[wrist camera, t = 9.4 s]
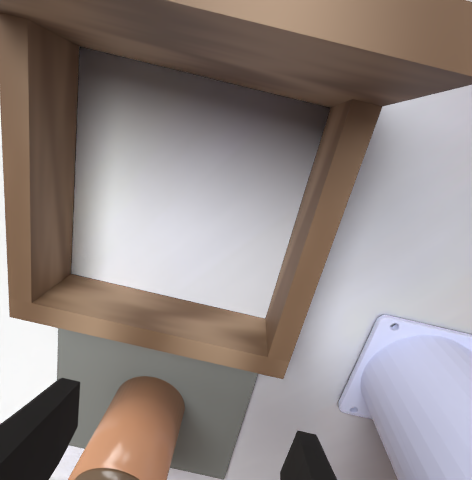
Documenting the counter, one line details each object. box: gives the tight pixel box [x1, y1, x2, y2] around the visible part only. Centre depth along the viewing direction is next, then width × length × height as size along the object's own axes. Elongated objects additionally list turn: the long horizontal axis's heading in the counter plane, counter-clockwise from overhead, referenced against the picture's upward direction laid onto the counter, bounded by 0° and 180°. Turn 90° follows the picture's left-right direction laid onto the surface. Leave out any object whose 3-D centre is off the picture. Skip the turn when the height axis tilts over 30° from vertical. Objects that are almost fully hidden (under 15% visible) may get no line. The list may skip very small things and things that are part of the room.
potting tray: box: [0, 0, 472, 379], centre depth 12 cm, size 15×15×9 cm
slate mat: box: [57, 328, 258, 479], centre depth 22 cm, size 14×12×1 cm
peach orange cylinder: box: [68, 376, 185, 480], centre depth 19 cm, size 5×5×6 cm
